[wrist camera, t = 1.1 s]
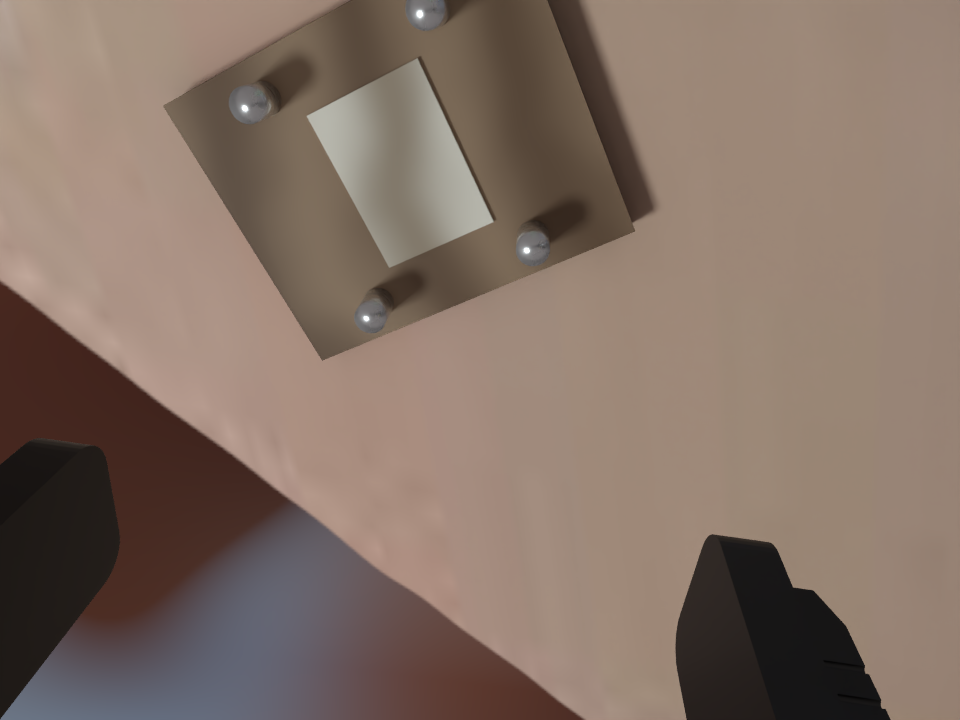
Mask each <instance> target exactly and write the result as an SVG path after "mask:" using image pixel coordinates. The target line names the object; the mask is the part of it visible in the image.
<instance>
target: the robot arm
mask: <svg viewBox="0 0 960 720" xmlns="http://www.w3.org/2000/svg"><path fill="white" fill-rule="evenodd" d="M119 544H120V535H119V528H118V522H117V517H116V511H115V505H114V500H113V494H112V489H111V483H110V478H109V472H108V466H107V461H106V457H105V455H104V453H103V451H102V450H101V449H100V448H98V447H96V446H93V445H85V444H79V443H72V442H65V441H57V440H50V439H43V438H37V439H33V440H31V441H29V442H28V443H26V444H25V445H23V446H22V447H21V448H20V449H18V451H16V452H15V453H14V454H13V455H11V456H10V457H9V458H8V459H7V460H5V461H4V462H3V463H2V464H1V465H0V719H1V717H2V716H3V715H4V713H5V712H6V711H7V709H8V708H9V707H10V706H11V704H12V703H13V702H14V700H15V699H16V698H17V696H18V695H19V694H20V693H21V691H22V690H23V689H24V687H25V686H26V685H27V684H28V682H29V681H30V680H31V678H32V677H33V676H34V674H35V673H36V672H37V671H38V669H39V668H40V667H41V665H42V664H43V663H44V661H45V660H46V659H47V658H48V656H49V655H50V654H51V652H52V651H53V650H54V649H55V647H56V646H57V645H58V643H59V642H60V641H61V639H62V638H63V637H64V636H65V634H66V633H67V632H68V630H69V629H70V628H71V627H72V625H73V624H74V623H75V621H76V620H77V619H78V617H79V616H80V615H81V614H82V612H83V611H84V609H85V608H86V607H87V605H89V603H90V602H91V601H92V599H93V598H94V597H95V595H96V594H97V593H98V592H99V590H100V589H101V588H102V586H103V585H104V584H105V582H106V581H107V579H108V578H109V576H110V574H111V572H112V569H113V568H114V565H115V562H116V559H117V556H118V551H119ZM676 665H677V671H678V676H679V682H680V687H681V692H682V697H683V703H684V708H685V713H686V718H687V720H890V718H889V715H888V713H887V711H886V709H882V708H881V699H880V697H879V694H878V692H877V690H876V688H875V686H874V684H873V682H872V680H871V678H870V676H869V674H865V671H864V668H865V665H864V663H863V661H862V659H861V657H860V655H859V652H858V650H857V648H856V646H855V644H854V642H853V640H852V638H851V636H850V633H849V631H848V629H847V627H846V626H845V625H844V623H843V622H842V621H841V620H840V619H839V618H838V617H837V616H836V615H835V614H834V613H833V611H832V610H831V609H830V608H829V607H828V606H827V605H826V604H825V603H824V602H823V601H822V599H821V598H820V597H819V596H818V595H817V594H816V593H815V592H814V591H813V590H806V589H799V588H793V586H792V584H791V582H790V579H789V577H788V574H787V572H786V570H785V567H784V565H783V562H782V560H781V558H780V555H779V553H778V551H777V549H776V548H775V546H774V545H773V544H772V543H769V542H763V541H756V540H749V539H742V538H735V537H727V536H720V535H713V534H712V535H710V536H708V537H707V539H706V540H705V542H704V544H703V547H702V550H701V553H700V556H699V559H698V562H697V565H696V568H695V571H694V574H693V577H692V580H691V583H690V586H689V589H688V592H687V595H686V598H685V601H684V605H683V608H682V611H681V614H680V617H679V621H678V626H677V633H676Z"/></svg>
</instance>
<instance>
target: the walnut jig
mask: <svg viewBox="0 0 960 720" xmlns="http://www.w3.org/2000/svg"><path fill="white" fill-rule="evenodd" d="M163 107H164V108H165V110H166V111H167V113H168V115H169V116H170V118H171V119H172V121H173V123H174V124H175V126H176V127H177V129H178V131H179V132H180V134H181V135H182V137H183V139H184V140H185V142H186V143H187V145H188V147H189V148H190V150H191V151H192V153H193V155H194V156H195V158H196V159H197V161H198V163H199V164H200V166H201V167H202V169H203V171H204V172H205V174H206V175H207V177H208V179H209V180H210V182H211V183H212V185H213V187H214V188H215V190H216V191H217V193H218V195H219V196H220V198H221V199H222V201H223V203H224V204H225V206H226V207H227V209H228V211H229V212H230V214H231V215H232V217H233V219H234V220H235V222H236V223H237V225H238V227H239V228H240V230H241V231H242V233H243V235H244V236H245V238H246V239H247V241H248V243H249V244H250V246H251V247H252V249H253V251H254V252H255V254H256V255H257V257H258V259H259V260H260V262H261V263H262V265H263V267H264V268H265V270H266V271H267V273H268V275H269V276H270V278H271V279H272V281H273V283H274V284H275V286H276V287H277V289H278V291H279V292H280V294H281V295H282V297H283V299H284V300H285V302H286V303H287V305H288V307H289V308H290V310H291V311H292V313H293V315H294V316H295V318H296V319H297V321H298V323H299V324H300V326H301V327H302V329H303V331H304V332H305V334H306V335H307V337H308V339H309V340H310V342H311V343H312V345H313V347H314V348H315V350H316V351H317V353H318V355H319V356H320V358H321V359H322V360H325V359H327V358H329V357H332V356H334V355H337V354H339V353H342V352H344V351H346V350H349V349H351V348H354V347H356V346H359V345H361V344H363V343H366V342H368V341H371V340H373V339H375V338H378V337H380V336H383V335H385V334H388V333H390V332H392V331H395V330H397V329H400V328H402V327H405V326H407V325H409V324H412V323H414V322H417V321H419V320H421V319H424V318H426V317H429V316H431V315H434V314H436V313H438V312H441V311H443V310H446V309H448V308H451V307H453V306H455V305H458V304H460V303H463V302H465V301H467V300H470V299H472V298H475V297H477V296H480V295H482V294H484V293H487V292H489V291H492V290H494V289H497V288H499V287H501V286H504V285H506V284H509V283H511V282H513V281H516V280H518V279H521V278H523V277H526V276H528V275H530V274H533V273H535V272H538V271H540V270H543V269H545V268H547V267H550V266H552V265H555V264H557V263H559V262H562V261H564V260H567V259H569V258H572V257H574V256H576V255H579V254H581V253H584V252H586V251H589V250H591V249H593V248H596V247H598V246H601V245H603V244H605V243H608V242H610V241H613V240H615V239H618V238H620V237H622V236H625V235H627V234H630V233H632V232H635V229H634V227H633V224H632V222H631V219H630V216H629V214H628V211H627V208H626V206H625V203H624V201H623V198H622V195H621V193H620V190H619V187H618V185H617V182H616V179H615V177H614V174H613V172H612V169H611V166H610V164H609V161H608V158H607V156H606V153H605V151H604V148H603V145H602V143H601V140H600V137H599V135H598V132H597V130H596V127H595V124H594V122H593V119H592V116H591V114H590V111H589V108H588V106H587V103H586V101H585V98H584V95H583V93H582V90H581V87H580V85H579V82H578V80H577V77H576V74H575V72H574V69H573V66H572V64H571V61H570V59H569V56H568V53H567V51H566V48H565V45H564V43H563V40H562V37H561V35H560V32H559V30H558V27H557V24H556V22H555V19H554V16H553V14H552V11H551V9H550V6H549V3H548V1H547V0H351V1H349V2H347V3H346V4H344V5H342V6H340V7H338V8H337V9H335V10H333V11H331V12H329V13H328V14H326V15H324V16H322V17H321V18H319V19H317V20H315V21H313V22H312V23H310V24H308V25H306V26H304V27H303V28H301V29H299V30H297V31H296V32H294V33H292V34H290V35H288V36H287V37H285V38H283V39H281V40H280V41H278V42H276V43H274V44H272V45H271V46H269V47H267V48H265V49H263V50H262V51H260V52H258V53H256V54H255V55H253V56H251V57H249V58H247V59H246V60H244V61H242V62H240V63H239V64H237V65H235V66H233V67H231V68H230V69H228V70H226V71H224V72H222V73H221V74H219V75H217V76H215V77H214V78H212V79H210V80H208V81H206V82H205V83H203V84H201V85H199V86H198V87H196V88H194V89H192V90H190V91H189V92H187V93H185V94H183V95H181V96H180V97H178V98H176V99H174V100H173V101H171V102H169V103H167V104H165V105H164V106H163Z"/></svg>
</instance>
